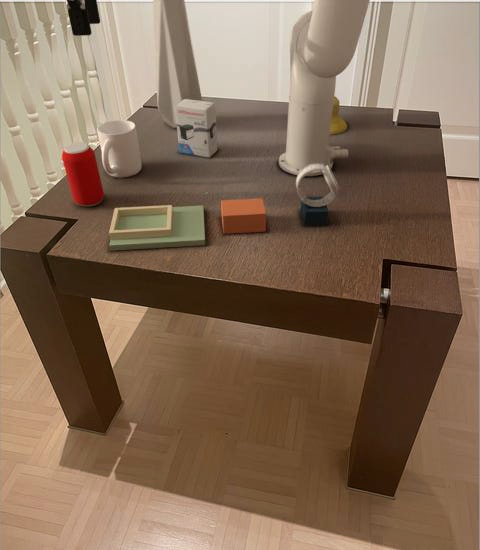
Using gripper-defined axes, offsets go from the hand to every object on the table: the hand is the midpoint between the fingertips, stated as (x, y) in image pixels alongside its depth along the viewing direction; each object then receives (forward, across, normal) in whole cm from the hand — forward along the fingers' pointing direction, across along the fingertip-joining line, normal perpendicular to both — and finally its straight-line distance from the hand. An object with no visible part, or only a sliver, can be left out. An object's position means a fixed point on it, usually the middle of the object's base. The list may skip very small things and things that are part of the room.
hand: (87, 29), depth 85 cm
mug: (+30, +1, -1) cm, 30 cm away
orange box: (+30, -22, -27) cm, 46 cm away
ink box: (+30, +12, -19) cm, 37 cm away
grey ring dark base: (+30, -21, -41) cm, 55 cm away
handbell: (+30, +25, -54) cm, 66 cm away
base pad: (+30, -23, -11) cm, 39 cm away
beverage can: (+30, -11, +4) cm, 32 cm away
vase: (+30, +30, -14) cm, 45 cm away
